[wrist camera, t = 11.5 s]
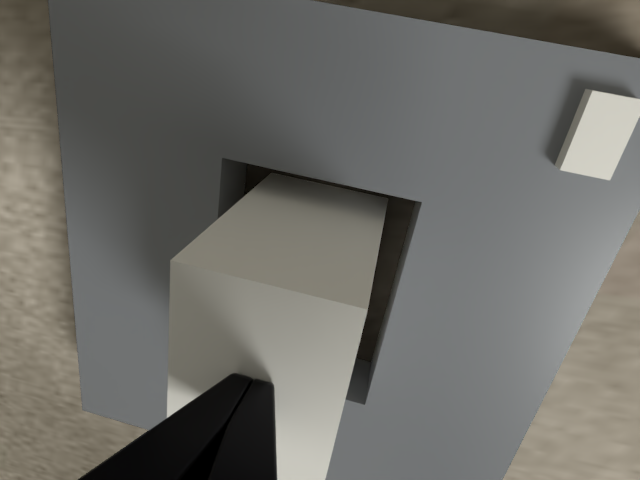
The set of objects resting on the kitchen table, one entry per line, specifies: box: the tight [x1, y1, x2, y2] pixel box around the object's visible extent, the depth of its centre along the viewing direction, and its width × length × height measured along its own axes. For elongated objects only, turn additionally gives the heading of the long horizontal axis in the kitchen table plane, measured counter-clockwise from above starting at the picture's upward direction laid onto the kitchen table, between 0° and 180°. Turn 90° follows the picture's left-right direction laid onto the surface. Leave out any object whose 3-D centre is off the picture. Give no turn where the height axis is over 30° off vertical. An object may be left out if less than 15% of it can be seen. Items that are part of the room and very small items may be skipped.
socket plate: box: [48, 0, 640, 480], centre depth 13 cm, size 14×14×2 cm
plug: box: [167, 173, 388, 480], centre depth 12 cm, size 7×4×6 cm, turn 171°
